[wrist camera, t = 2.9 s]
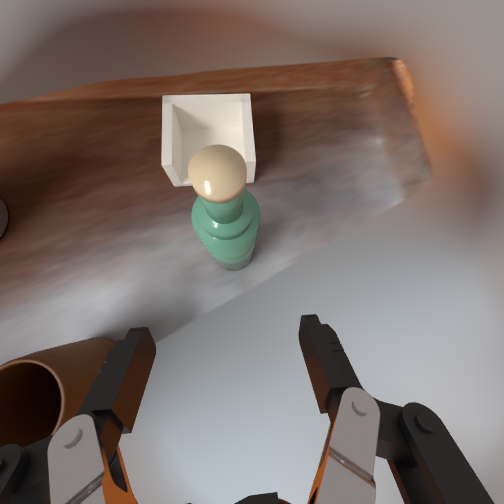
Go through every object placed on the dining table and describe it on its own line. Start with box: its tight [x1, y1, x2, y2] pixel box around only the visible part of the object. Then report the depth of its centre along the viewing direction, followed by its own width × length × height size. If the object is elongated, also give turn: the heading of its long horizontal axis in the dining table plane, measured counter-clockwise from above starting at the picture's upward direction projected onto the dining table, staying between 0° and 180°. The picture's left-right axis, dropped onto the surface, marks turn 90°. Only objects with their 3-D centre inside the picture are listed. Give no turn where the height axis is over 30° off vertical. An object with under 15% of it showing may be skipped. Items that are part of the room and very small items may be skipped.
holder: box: [162, 94, 256, 186], centre depth 30 cm, size 10×11×5 cm
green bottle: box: [188, 144, 260, 271], centre depth 20 cm, size 5×5×19 cm
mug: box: [0, 338, 116, 448], centre depth 20 cm, size 12×8×9 cm, turn 16°
